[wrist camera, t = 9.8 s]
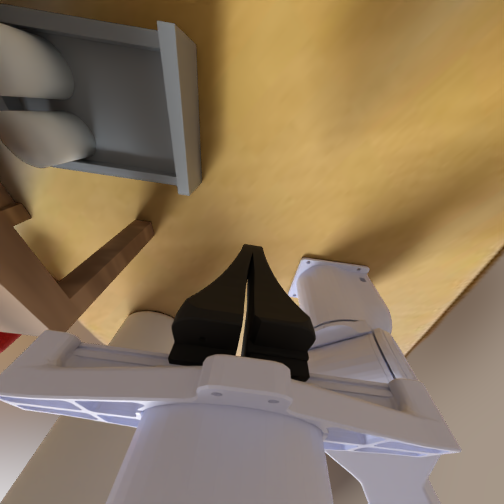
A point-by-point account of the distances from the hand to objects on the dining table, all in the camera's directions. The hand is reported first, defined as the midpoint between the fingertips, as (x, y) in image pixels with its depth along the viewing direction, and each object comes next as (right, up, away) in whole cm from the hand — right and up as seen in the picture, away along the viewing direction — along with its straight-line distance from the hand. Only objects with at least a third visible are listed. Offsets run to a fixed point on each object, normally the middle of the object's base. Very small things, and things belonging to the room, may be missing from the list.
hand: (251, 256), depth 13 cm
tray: (-13, +13, +3) cm, 18 cm away
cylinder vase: (-20, -16, +26) cm, 36 cm away
